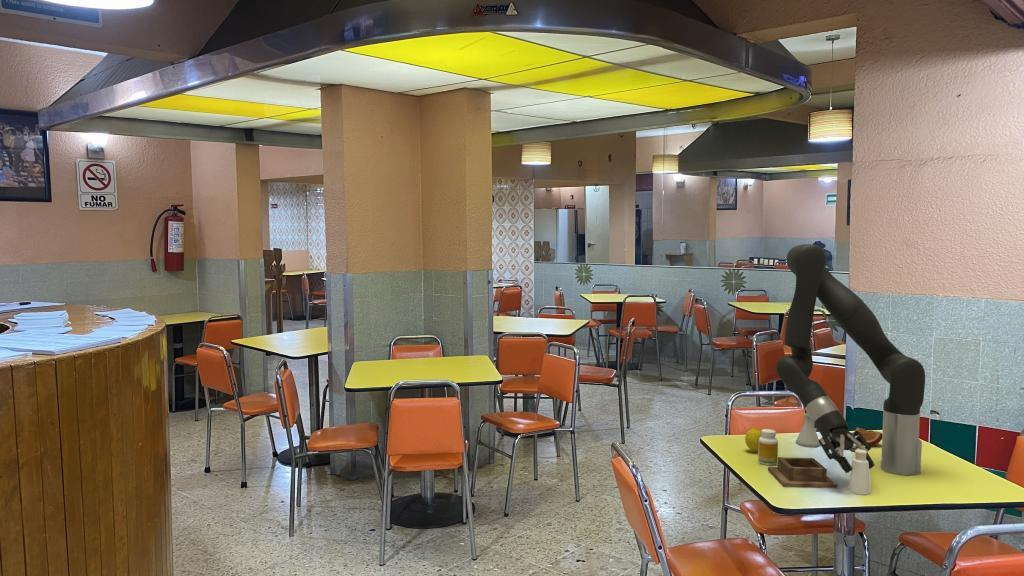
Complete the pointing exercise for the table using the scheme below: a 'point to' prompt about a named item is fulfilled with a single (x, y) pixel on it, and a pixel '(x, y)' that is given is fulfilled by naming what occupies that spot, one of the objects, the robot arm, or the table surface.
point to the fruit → (753, 439)
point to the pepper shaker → (860, 474)
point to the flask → (808, 433)
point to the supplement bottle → (768, 448)
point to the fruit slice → (870, 436)
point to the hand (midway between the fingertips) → (860, 469)
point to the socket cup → (801, 473)
